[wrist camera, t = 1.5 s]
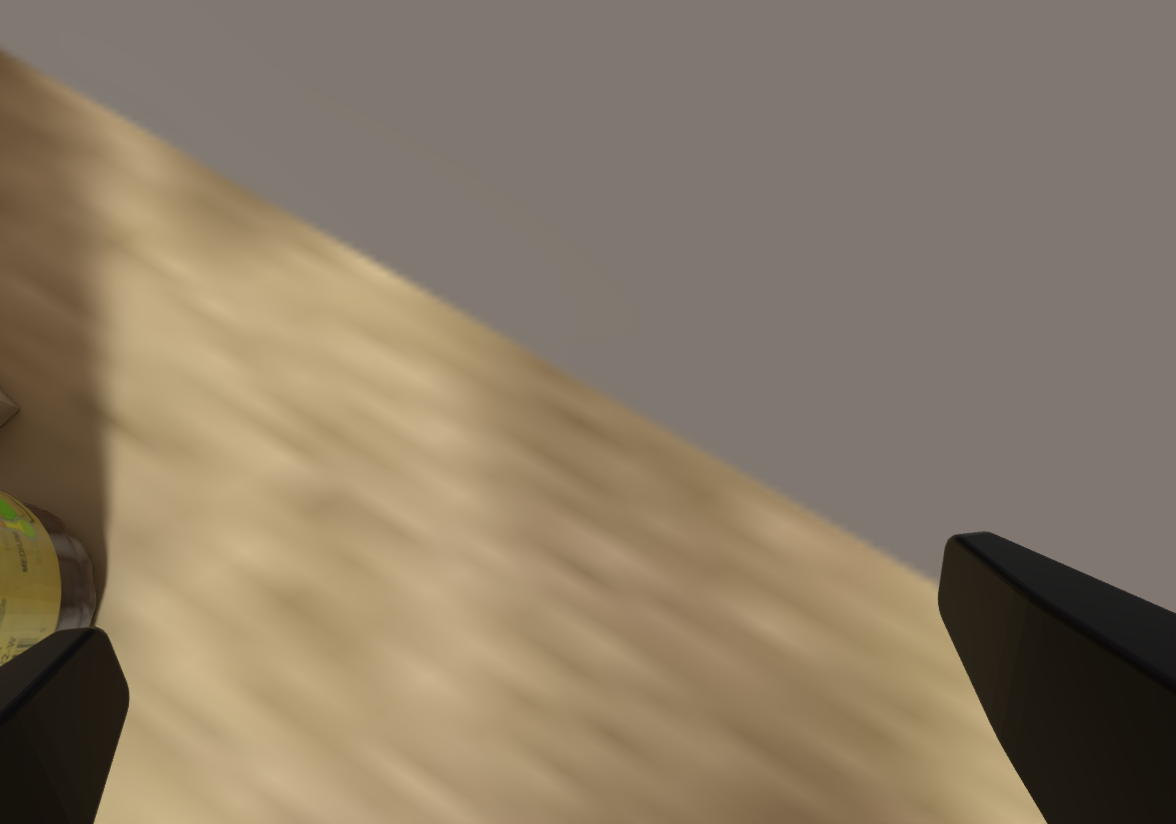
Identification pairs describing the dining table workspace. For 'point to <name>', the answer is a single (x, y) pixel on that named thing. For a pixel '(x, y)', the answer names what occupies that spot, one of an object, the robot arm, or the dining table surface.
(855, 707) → the dining table surface
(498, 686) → the dining table surface
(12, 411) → the shelf plank
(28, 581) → the sauce bottle
